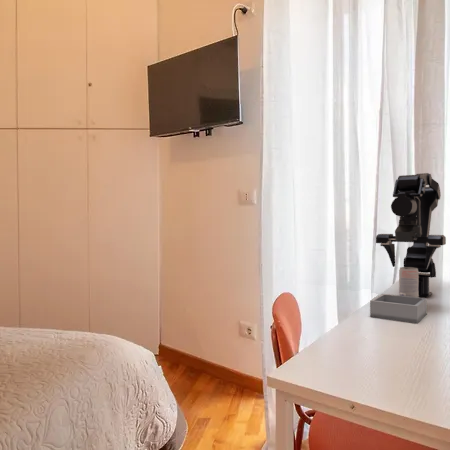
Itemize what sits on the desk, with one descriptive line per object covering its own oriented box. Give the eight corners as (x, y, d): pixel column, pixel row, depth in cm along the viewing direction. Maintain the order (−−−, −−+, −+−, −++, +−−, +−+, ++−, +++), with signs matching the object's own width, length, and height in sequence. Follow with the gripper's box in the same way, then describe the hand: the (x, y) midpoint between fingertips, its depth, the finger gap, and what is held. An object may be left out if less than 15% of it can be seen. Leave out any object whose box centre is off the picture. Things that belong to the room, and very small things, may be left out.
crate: (382, 308, 122) (382, 293, 121) (426, 314, 114) (426, 298, 114) (370, 316, 112) (370, 300, 112) (417, 323, 105) (417, 306, 105)
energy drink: (415, 305, 125) (414, 267, 125) (421, 309, 120) (421, 269, 120) (396, 305, 126) (396, 266, 126) (402, 309, 120) (402, 269, 120)
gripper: (370, 216, 122) (370, 268, 122) (439, 216, 111) (439, 273, 111) (381, 216, 131) (381, 264, 131) (446, 216, 120) (445, 268, 120)
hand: (409, 267), depth 123 cm, fingers open, 9 cm apart
